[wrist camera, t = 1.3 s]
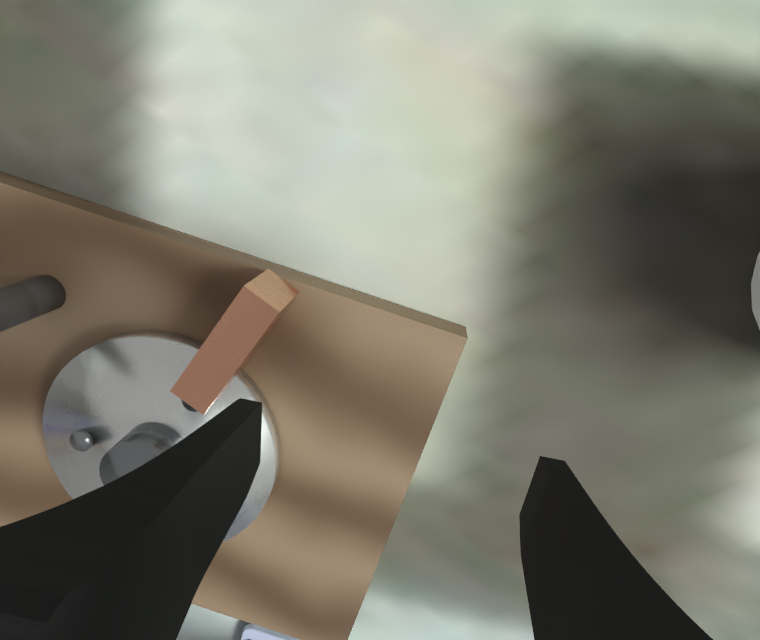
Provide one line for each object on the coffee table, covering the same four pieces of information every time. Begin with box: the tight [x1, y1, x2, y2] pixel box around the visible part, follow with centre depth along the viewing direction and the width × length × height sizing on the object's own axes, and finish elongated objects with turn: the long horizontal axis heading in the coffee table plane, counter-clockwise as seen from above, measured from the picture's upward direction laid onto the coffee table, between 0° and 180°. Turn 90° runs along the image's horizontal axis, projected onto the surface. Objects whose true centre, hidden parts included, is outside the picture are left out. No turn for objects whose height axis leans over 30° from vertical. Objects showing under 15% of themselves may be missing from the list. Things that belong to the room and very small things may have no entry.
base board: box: [0, 172, 468, 640], centre depth 24 cm, size 19×23×5 cm
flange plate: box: [43, 269, 299, 542], centre depth 23 cm, size 16×11×3 cm
